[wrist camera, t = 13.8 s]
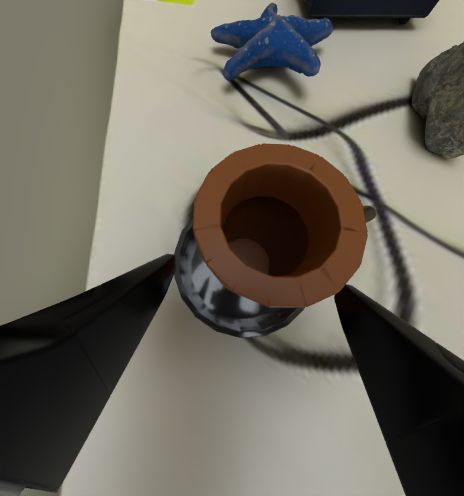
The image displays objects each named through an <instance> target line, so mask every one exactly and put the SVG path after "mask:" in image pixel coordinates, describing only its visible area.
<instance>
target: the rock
mask: <svg viewBox="0 0 464 496" xmlns="http://www.w3.org/2000/svg"><path fill="white" fill-rule="evenodd" d="M412 106H413V107H414V109H415V111H416V112H418V113H419V115H420V116H421V117H423V118H424V119H427V120H426V130H425V136H424V138H425V143H426V147H427V148H428V149H429V150H430V151H431V152H434V153H439V154H440V155H442V156H444V157H445V158H455V157H458V156H461V155H464V42H463V43H462V44H460V45H459V46H457V45H455V46H453V47H452V48H451V49H449V50H446V51H444V52H442V53H441V54H440V55H439V56H437V57H435V58H434V59H432V60H431V61H430V62H429V63H427V64H426V66H425V67H424V68H423V69H422V70H421V72H420V74H419V77H418V79H417V84H416V87H415V89H414V94H413V97H412Z"/></svg>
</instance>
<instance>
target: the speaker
mask: <svg viewBox="0 0 464 496" xmlns="http://www.w3.org/2000/svg"><path fill="white" fill-rule="evenodd" d="M304 1H305V4H306V7H307V10H308V14H309V17H313V19H324V17H385V18H398V19H397V22H398V23H399V24H401V25H403V24H406V23H407V22H408V21H409V20H410V19H411V18H425V17H426V16H428V15H429V13H430V12H431V11H432V9H433V8H434V7H435V5H436V4H437V3H438V1H439V0H304Z"/></svg>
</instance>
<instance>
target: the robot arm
mask: <svg viewBox="0 0 464 496" xmlns="http://www.w3.org/2000/svg"><path fill="white" fill-rule="evenodd" d="M175 270H176V257H175V255H172V254H166V255H163V256H161V257H159V258H157V259H155V260H153V261H150V262H148V263H146V264H144V265H142V266H140V267H138V268H135V269H133V270H131V271H129V272H127V273H125V274H122V275H120V276H118V277H116V278H114V279H112V280H110V281H107V282H105V283H103V284H101V286H100V285H99V286H97V287H94V288H92V289H90V290H88V291H86V292H83V293H81V294H79V295H77V296H74V297H72V298H70V299H67V300H65V301H62V302H60V303H57V304H55V305H52V306H50V307H47V308H45V309H42V310H40V311H37V312H35V313H32V314H30V315H27V316H25V317H22V318H20V319H17V320H15V321H12V322H9V323H7V324H4V325H1V326H0V496H20V494H21V493H22V491H23V490H24V488H30V489H37V490H42V491H49V492H54V493H56V492H57V491H58V490H59V488H60V486H61V485H62V483H63V481H64V479H65V478H66V476H67V474H68V472H69V470H70V468H71V467H72V465H73V463H74V461H75V459H76V458H77V456H78V454H79V452H80V450H81V448H82V447H83V445H84V443H85V441H86V439H87V438H88V436H89V434H90V432H91V430H92V428H93V427H94V425H95V423H96V421H97V419H98V418H99V416H100V414H101V412H102V410H103V408H104V407H105V405H106V403H107V401H108V399H109V398H110V395H111V394H112V392H113V390H114V388H115V386H116V385H117V383H118V381H119V379H120V377H121V375H122V374H123V372H124V370H125V368H126V366H127V365H128V363H129V361H130V359H131V357H132V356H133V354H134V352H135V350H136V348H137V346H138V345H139V343H140V341H141V339H142V337H143V336H144V334H145V332H146V330H147V328H148V326H149V325H150V323H151V321H152V319H153V317H154V316H155V314H156V312H157V310H158V308H159V306H160V305H161V303H162V301H163V299H164V297H165V295H166V293H167V291H168V288H169V286H170V283H171V281H172V278H173V276H174V273H175ZM334 299H335V303H336V307H337V311H338V314H339V318H340V322H341V325H342V328H343V331H344V334H345V336H346V339H347V342H348V344H349V347H350V349H351V352H352V355H353V357H354V360H355V363H356V365H357V368H358V371H359V373H360V376H361V378H362V381H363V384H364V386H365V389H366V392H367V394H368V397H369V400H370V402H371V405H372V407H373V410H374V413H375V415H376V418H377V421H378V423H379V426H380V429H381V431H382V434H383V436H384V439H385V441H386V445H387V447H388V450H389V453H390V455H391V458H392V461H393V463H394V466H395V469H396V471H397V474H398V476H399V479H400V482H401V484H402V487H403V490H404V492H405V495H406V496H464V361H463V360H462V359H460V358H459V357H457V356H456V355H454V354H453V353H451V352H450V351H448V350H447V349H445V348H444V347H442V346H441V345H439V344H438V343H436V342H435V341H433V340H432V339H430V338H429V337H427V336H426V335H424V334H423V333H422V332H420V331H419V330H417V329H416V328H414V327H413V326H411V325H410V324H408V323H407V322H405V321H404V320H402V319H401V318H399V317H398V316H396V315H395V314H393V313H392V312H390V311H389V310H387V309H386V308H384V307H383V306H381V305H380V304H378V303H377V302H375V301H374V300H372V299H371V298H369V297H368V296H366V295H365V294H364V293H362V292H361V291H359V290H358V289H356V288H355V287H353V286H351V285H347V284H345V286H344V287H343V288H342V289H341V291H339V292H338V293H336V294H335V296H334Z"/></svg>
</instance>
